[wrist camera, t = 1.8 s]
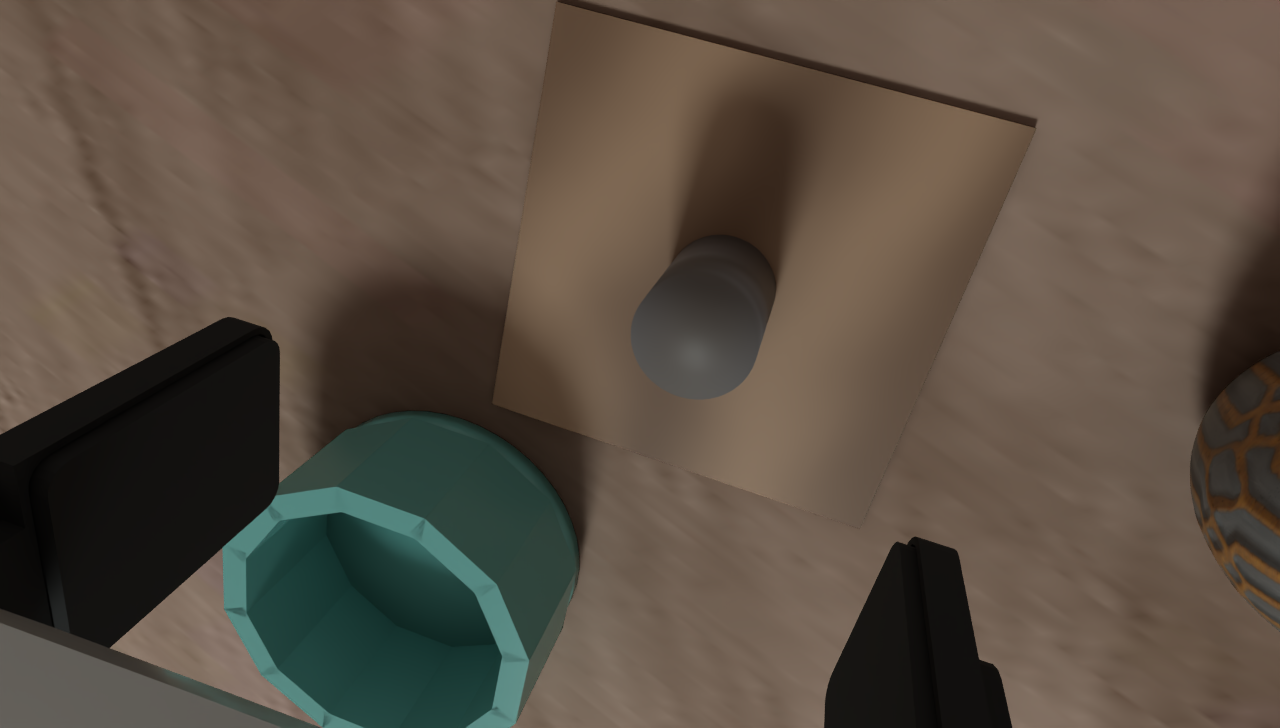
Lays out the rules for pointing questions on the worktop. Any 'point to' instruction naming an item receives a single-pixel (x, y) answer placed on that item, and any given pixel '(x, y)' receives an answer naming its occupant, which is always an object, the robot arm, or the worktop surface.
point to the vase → (1243, 484)
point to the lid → (741, 258)
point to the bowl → (406, 577)
